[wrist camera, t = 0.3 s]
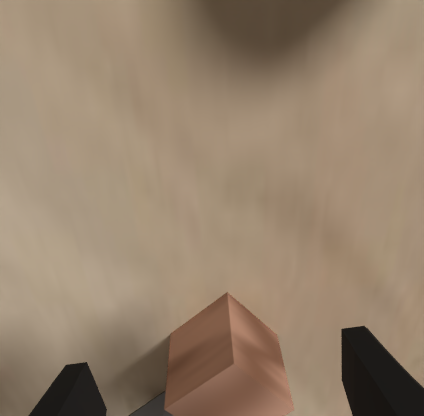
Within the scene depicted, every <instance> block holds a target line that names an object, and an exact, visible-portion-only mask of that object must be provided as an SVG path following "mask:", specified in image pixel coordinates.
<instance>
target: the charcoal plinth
mask: <svg viewBox="0 0 424 416" xmlns="http://www.w3.org/2000/svg"><path fill="white" fill-rule="evenodd" d="M165 394H166V391H165V392H163V393H162V394H160V395H159V396H157V397H156V398H154V399H153V400H151V401H150V402H148V403H147V404H146V405H144V406H143V407H141V408H140V409H138V410H137V411H135V412H134V413H132V414H131V415H129V416H173V415H172V414H170V413H169V412H167V411H166V410H164V405H165Z"/></svg>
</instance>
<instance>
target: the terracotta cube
mask: <svg viewBox="0 0 424 416" xmlns="http://www.w3.org/2000/svg"><path fill="white" fill-rule="evenodd" d="M164 410H166V411H167V412H169V413H170V414H172V415H173V416H284V415H286V414H288V413H290V412H291V411H293V410H294V406H293V402H292V398H291V393H290V389H289V385H288V380H287V376H286V372H285V367H284V363H283V359H282V354H281V350H280V346H279V341H278V337H277V334H276V333H274V332H273V331H272V330H271V329H270V328H269V327H267V326H266V325H265V324H264V323H263V322H261V321H260V320H259V319H258V318H257V317H256V316H254V315H253V314H252V313H251V312H250V311H249V310H247V309H246V308H245V307H244V306H243V305H242V304H240V303H239V302H238V301H237V300H236V299H235V298H233V297H232V296H231V295H230V294H229V293H228V292H227V293H226V294H224V295H223V296H222V297H220V298H219V299H217V300H216V301H215V302H213V303H212V304H211V305H209V306H208V307H207V308H205V309H204V310H202V311H201V312H200V313H198V314H197V315H196V316H194V317H193V318H192V319H190V320H189V321H188V322H186V323H185V324H183V325H182V326H181V327H179V328H178V329H177V330H175V331H174V332H173V333H171V336H170V348H169V359H168V371H167V382H166V394H165V405H164Z"/></svg>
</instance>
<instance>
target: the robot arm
mask: <svg viewBox="0 0 424 416" xmlns="http://www.w3.org/2000/svg"><path fill="white" fill-rule="evenodd" d="M342 382H343V385H344V389H345V392H346V395H347V399H348V402H349V405H350V408H351V411H352V415H353V416H424V388H423V387H422V386H421V385H420V384H419V383H418V382H417V381H416V380H415V379H414V378H413V377H412V376H411V375H410V374H409V373H408V372H407V371H406V370H405V369H404V368H403V367H402V366H401V365H400V364H399V363H398V362H397V361H396V360H395V358H394V357H393V356H392V355H391V354H390V353H389V352H388V351H387V350H386V349H385V348H384V347H383V345H382V344H381V343H380V342H379V341H378V340H377V339H376V338H375V336H374V335H373V334H372V333H371V332H370V331H369V330H368V329H367V328H366V327H365V326H360V327H352V328H345V329H342ZM106 411H107V409H106V406H105V404H104V402H103V399H102V397H101V395H100V392H99V390H98V387H97V385H96V383H95V380H94V378H93V376H92V373H91V371H90V368H89V366H88V364H87V362H85V363H77V364H70V365H66V366H65V367H64V368H63V370H62V371H61V372H60V374H59V375H58V376H57V378H56V379H55V380H54V382H53V383H52V384H51V386H50V387H49V389H48V390H47V391H46V393H45V394H44V395H43V397H42V398H41V400H40V401H39V402H38V404H37V405H36V406H35V408H34V409H33V410H32V412H31V413H30V414H29V416H106Z"/></svg>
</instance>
